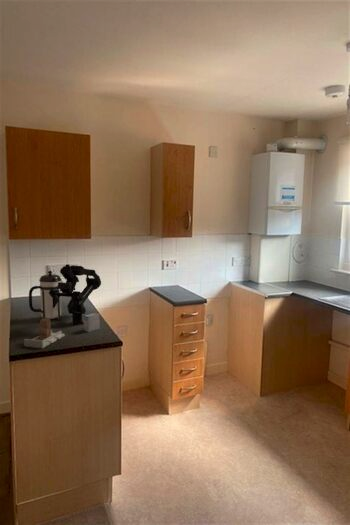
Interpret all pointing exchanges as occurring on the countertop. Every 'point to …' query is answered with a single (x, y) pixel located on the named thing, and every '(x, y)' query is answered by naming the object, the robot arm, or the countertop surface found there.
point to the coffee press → (47, 296)
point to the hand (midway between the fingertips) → (60, 308)
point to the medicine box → (91, 322)
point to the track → (42, 343)
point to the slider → (45, 329)
